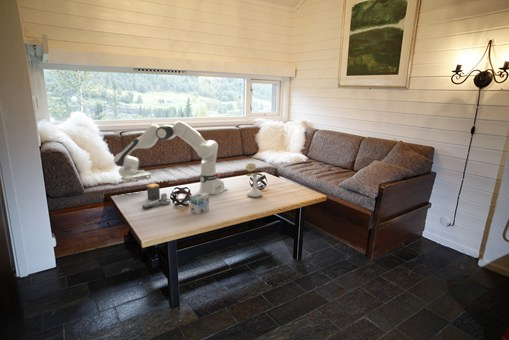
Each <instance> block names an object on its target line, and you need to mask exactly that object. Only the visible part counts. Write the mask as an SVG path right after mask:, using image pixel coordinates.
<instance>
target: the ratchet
mask: <svg viewBox="0 0 509 340" xmlns="http://www.w3.org/2000/svg"><path fill="white" fill-rule="evenodd" d="M170 204H171V198H168V194H167V193H166V192H161V193H160V199H157V202H153V203H146V204H143V205H142V209H143V210H145V211H146V210H151V209H153V208H157V207H160V206H167V205H170Z"/></svg>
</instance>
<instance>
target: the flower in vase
mask: <svg viewBox="0 0 509 340" xmlns="http://www.w3.org/2000/svg"><path fill="white" fill-rule="evenodd" d="M256 168H257V166H256V163H254V162H250V163H248V164H246V166H245V170H246V171H248V172H250V173H247V174H246V176H247V177H251V180H252V188H250V189H249V190H247V192H246V194H247V196H248V197H252V198H258V197H261V196H262V194H263V192H262V191H261V190H260V189H259V188H258V187H257V181H258V180H259V177H258V175H259V173H254V174H253V173H252V171H255V169H256Z"/></svg>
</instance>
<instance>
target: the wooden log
mask: <svg viewBox="0 0 509 340" xmlns="http://www.w3.org/2000/svg"><path fill="white" fill-rule="evenodd" d="M160 191H161V190H160V184H157V183H155V182H154V183H150V184H147V185H146V192H147V193H146V194H147V199H148V200H150V201H152V202H153V201H156V200H159V199H161V192H160Z"/></svg>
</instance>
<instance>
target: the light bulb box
mask: <svg viewBox="0 0 509 340" xmlns="http://www.w3.org/2000/svg"><path fill="white" fill-rule="evenodd" d="M208 210H210V194H207V193H204V192H198V193H195V194H193V195H190V212H192V213H194V214H197V215H199V214H201V213H203V212H206V211H208Z"/></svg>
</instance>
